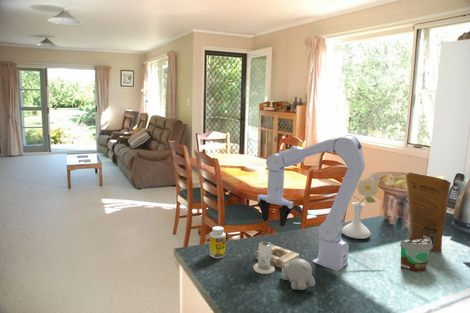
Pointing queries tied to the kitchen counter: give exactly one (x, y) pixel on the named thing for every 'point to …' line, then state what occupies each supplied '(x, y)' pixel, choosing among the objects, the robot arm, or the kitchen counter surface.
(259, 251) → the end plug
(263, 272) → the coaster
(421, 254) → the food container
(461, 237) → the kitchen counter surface
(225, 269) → the kitchen counter surface
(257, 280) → the kitchen counter surface
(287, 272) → the round bodied animal figurine
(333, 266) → the robot arm
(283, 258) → the beige flat block
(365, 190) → the flower in vase
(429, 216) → the pancake mix bag
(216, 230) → the supplement bottle
